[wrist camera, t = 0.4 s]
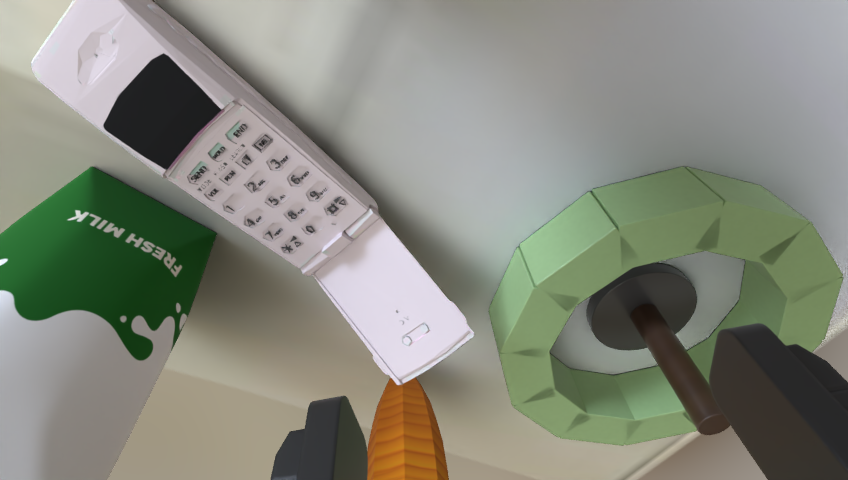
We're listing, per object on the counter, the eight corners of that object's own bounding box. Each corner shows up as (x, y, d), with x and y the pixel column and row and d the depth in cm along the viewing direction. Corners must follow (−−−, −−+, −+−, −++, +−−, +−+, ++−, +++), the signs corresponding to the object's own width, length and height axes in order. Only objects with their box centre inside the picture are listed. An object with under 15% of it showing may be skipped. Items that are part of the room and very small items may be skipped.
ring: (466, 220, 28) (476, 260, 25) (818, 132, 27) (879, 162, 23) (514, 419, 40) (526, 465, 36) (766, 366, 38) (802, 410, 35)
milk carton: (239, 230, 28) (24, 692, 11) (172, 323, 31) (-65, 776, 15) (79, 141, 24) (-568, 622, 8) (24, 257, 28) (-498, 754, 11)
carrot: (450, 363, 35) (485, 607, 23) (405, 398, 37) (414, 640, 25) (399, 332, 33) (407, 582, 21) (354, 370, 35) (336, 621, 23)
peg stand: (583, 277, 32) (648, 398, 24) (692, 251, 31) (796, 367, 23) (589, 349, 35) (647, 473, 28) (686, 327, 35) (773, 448, 27)
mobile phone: (402, 391, 28) (-105, 58, 16) (398, 320, 33) (7, 25, 21) (484, 337, 26) (-24, -86, 14) (467, 269, 31) (78, -85, 19)
